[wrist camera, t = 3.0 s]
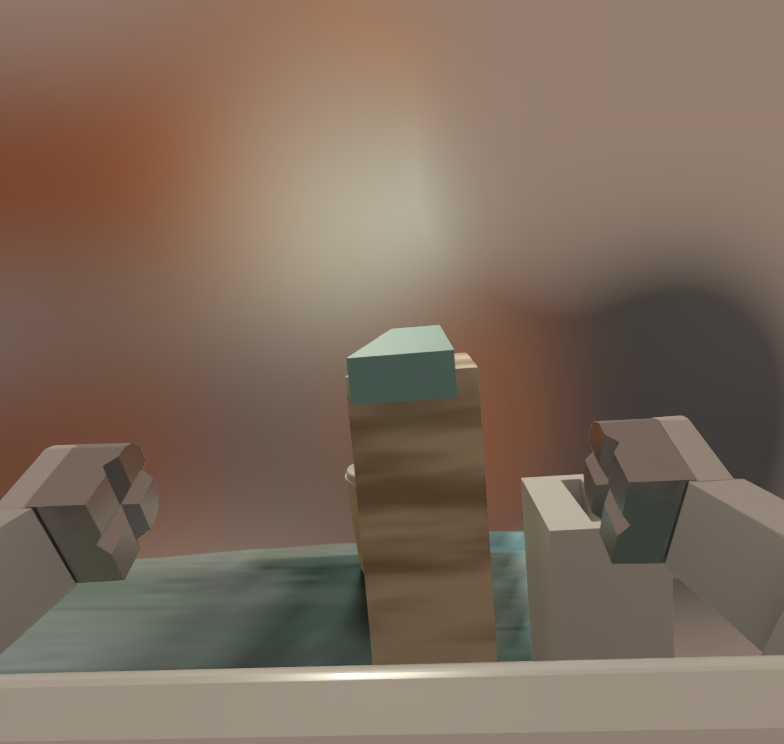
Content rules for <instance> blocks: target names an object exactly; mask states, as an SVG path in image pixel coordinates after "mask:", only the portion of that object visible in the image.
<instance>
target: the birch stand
mask: <svg viewBox="0 0 784 744" xmlns="http://www.w3.org/2000/svg"><path fill="white" fill-rule="evenodd" d="M454 358H455V372H456V386H457V397H456V398H442V399H428V400H414V401H400V402H386V403H373V404H359V405H351V401H350V390H349V379H348V376H346V387H347V398H348V409H349V419H350V430H351V439H352V451H353V461H354V472H355V482H356V493H357V503H358V514H359V524H360V535H361V545H362V556H363V566H364V577H365V587H366V598H367V608H368V619H369V629H370V640H371V650H372V661H373V665H402V664H441V663H482V662H497V648H496V633H495V618H494V603H493V588H492V573H491V558H490V543H489V529H488V513H487V499H486V484H485V468H484V453H483V439H482V423H481V408H480V393H479V378H478V367H477V366H476V364H475V363H474V362H473V360H472V359H471V358H470V357H469V355H468V354H467V353H455V354H454Z"/></svg>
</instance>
